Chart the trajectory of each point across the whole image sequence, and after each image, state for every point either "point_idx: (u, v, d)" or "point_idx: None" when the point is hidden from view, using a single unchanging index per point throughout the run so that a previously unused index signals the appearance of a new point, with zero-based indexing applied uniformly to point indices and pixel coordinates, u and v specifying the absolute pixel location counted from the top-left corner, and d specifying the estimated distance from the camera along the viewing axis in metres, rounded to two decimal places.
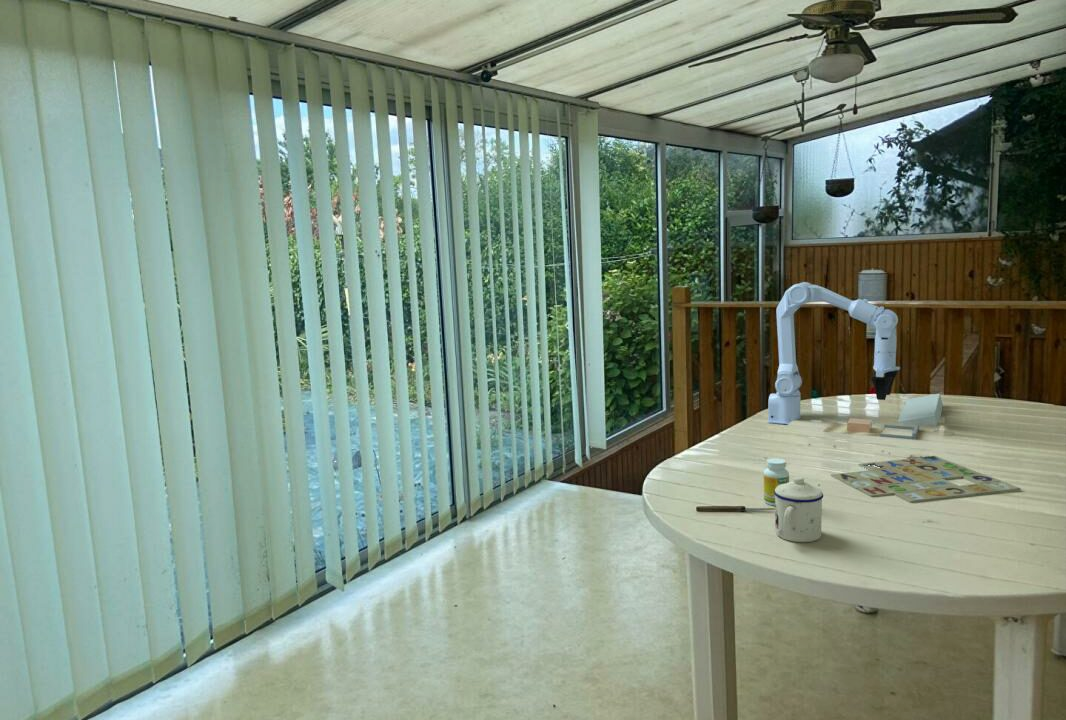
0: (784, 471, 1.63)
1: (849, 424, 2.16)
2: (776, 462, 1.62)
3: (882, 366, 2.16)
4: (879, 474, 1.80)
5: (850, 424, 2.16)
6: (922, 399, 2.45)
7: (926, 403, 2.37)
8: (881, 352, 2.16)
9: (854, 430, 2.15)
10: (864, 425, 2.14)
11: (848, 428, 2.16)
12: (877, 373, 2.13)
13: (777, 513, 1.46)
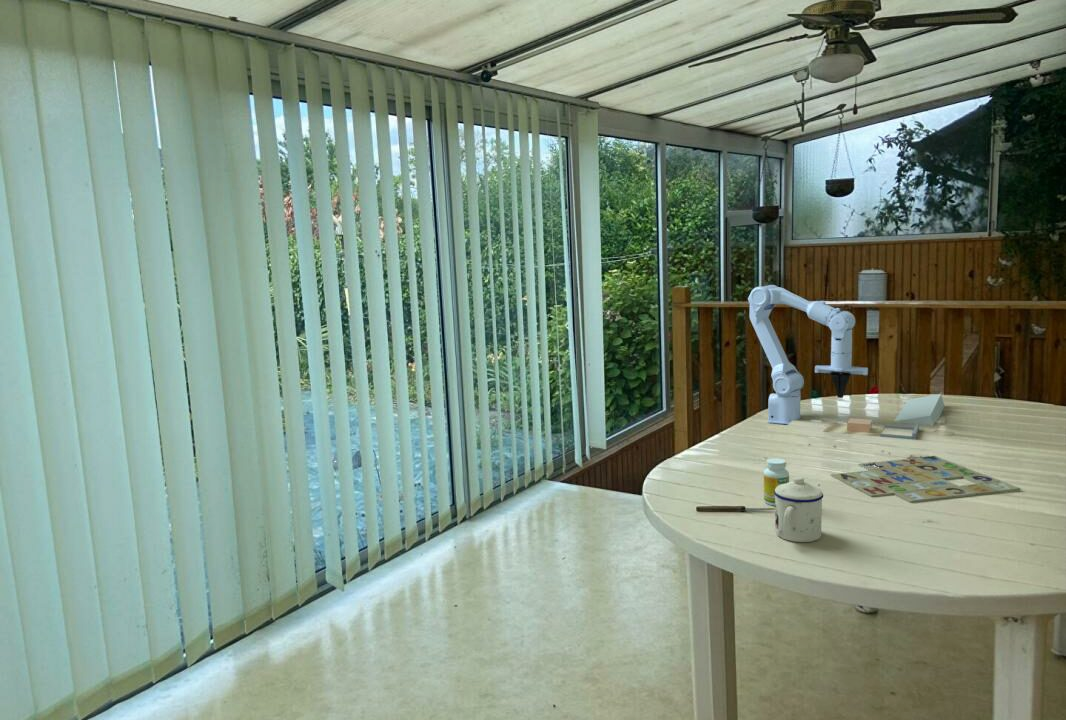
0: (784, 471, 1.63)
1: (849, 424, 2.16)
2: (776, 462, 1.62)
3: (831, 365, 2.23)
4: (879, 474, 1.80)
5: (850, 424, 2.16)
6: (923, 399, 2.45)
7: (926, 403, 2.37)
8: None
9: (854, 430, 2.15)
10: (864, 425, 2.14)
11: (848, 428, 2.16)
12: None
13: (777, 513, 1.46)
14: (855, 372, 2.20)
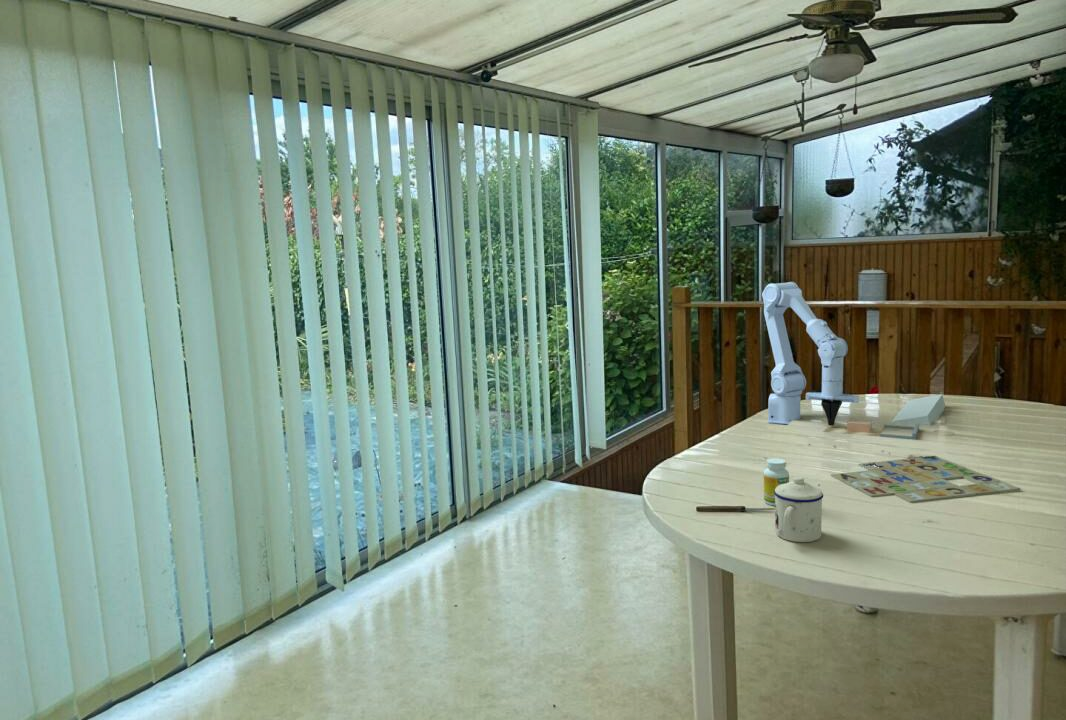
0: (784, 471, 1.63)
1: (849, 424, 2.16)
2: (776, 462, 1.62)
3: None
4: (879, 474, 1.80)
5: (850, 424, 2.16)
6: (923, 400, 2.45)
7: (925, 403, 2.37)
8: None
9: (854, 430, 2.15)
10: (864, 425, 2.14)
11: (848, 428, 2.16)
12: None
13: (777, 513, 1.46)
14: (846, 400, 2.18)
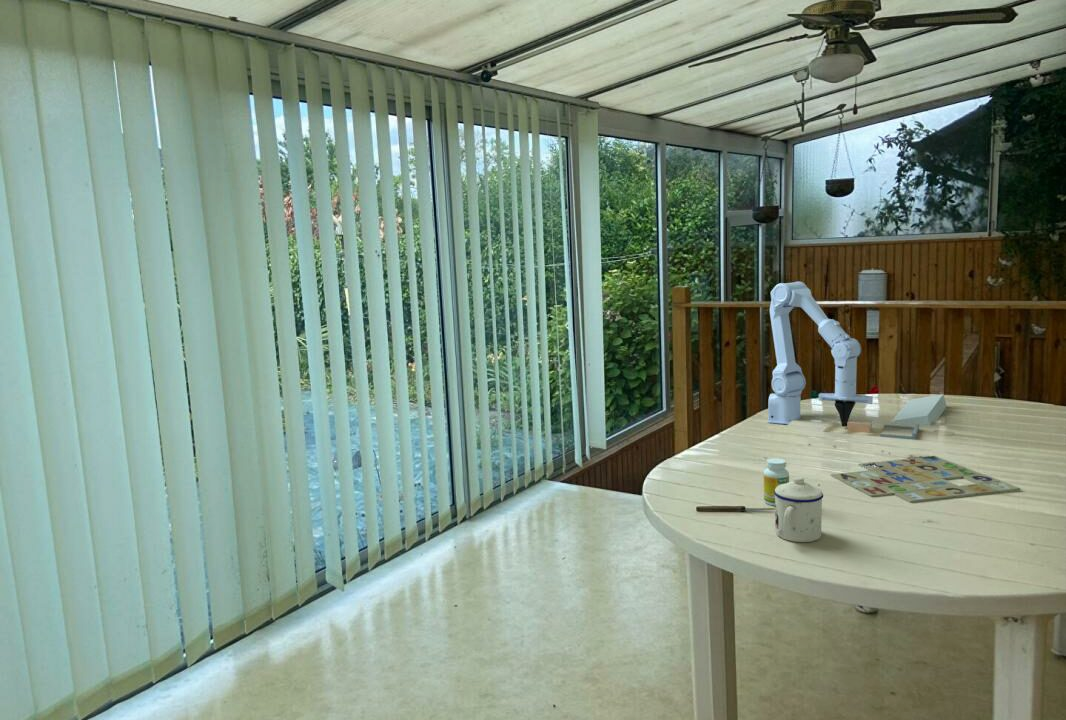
0: (784, 471, 1.63)
1: (849, 424, 2.16)
2: (776, 462, 1.62)
3: (835, 393, 2.19)
4: (879, 474, 1.80)
5: (850, 424, 2.16)
6: (924, 399, 2.44)
7: (926, 403, 2.37)
8: None
9: (854, 430, 2.15)
10: (864, 425, 2.14)
11: (848, 428, 2.16)
12: None
13: (777, 513, 1.46)
14: (860, 401, 2.16)
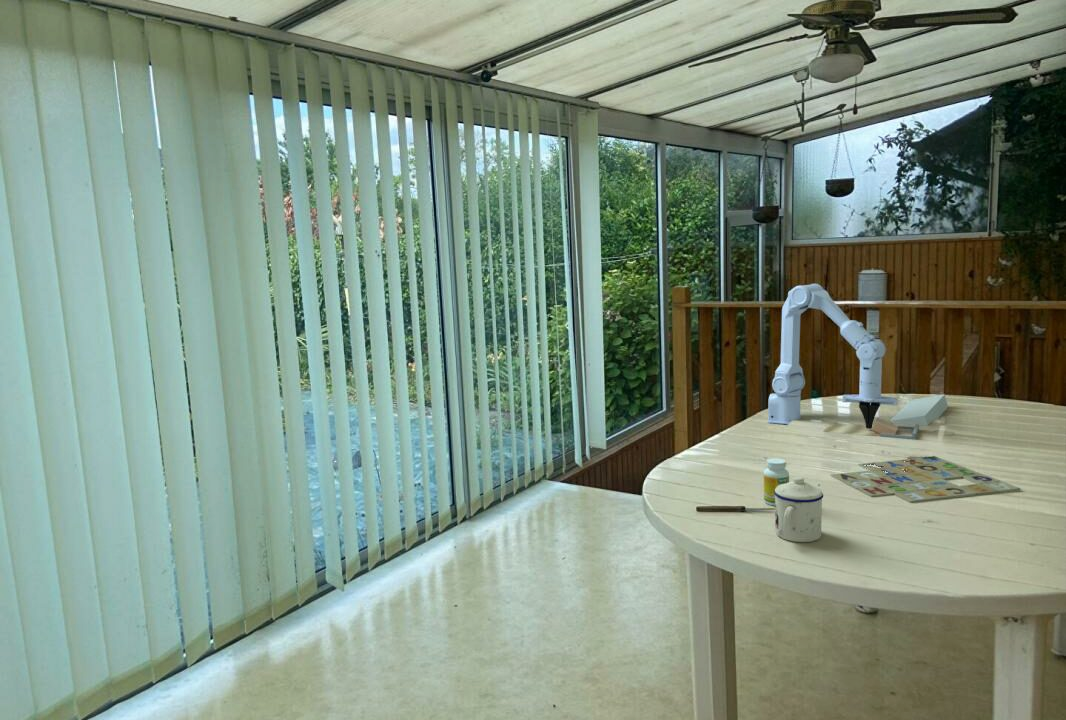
0: (784, 471, 1.63)
1: (876, 424, 2.12)
2: (776, 462, 1.62)
3: (859, 394, 2.16)
4: (879, 474, 1.80)
5: (877, 424, 2.12)
6: (925, 400, 2.44)
7: (926, 403, 2.37)
8: None
9: (879, 431, 2.12)
10: (891, 430, 2.10)
11: (874, 428, 2.12)
12: None
13: (777, 513, 1.46)
14: (885, 402, 2.12)
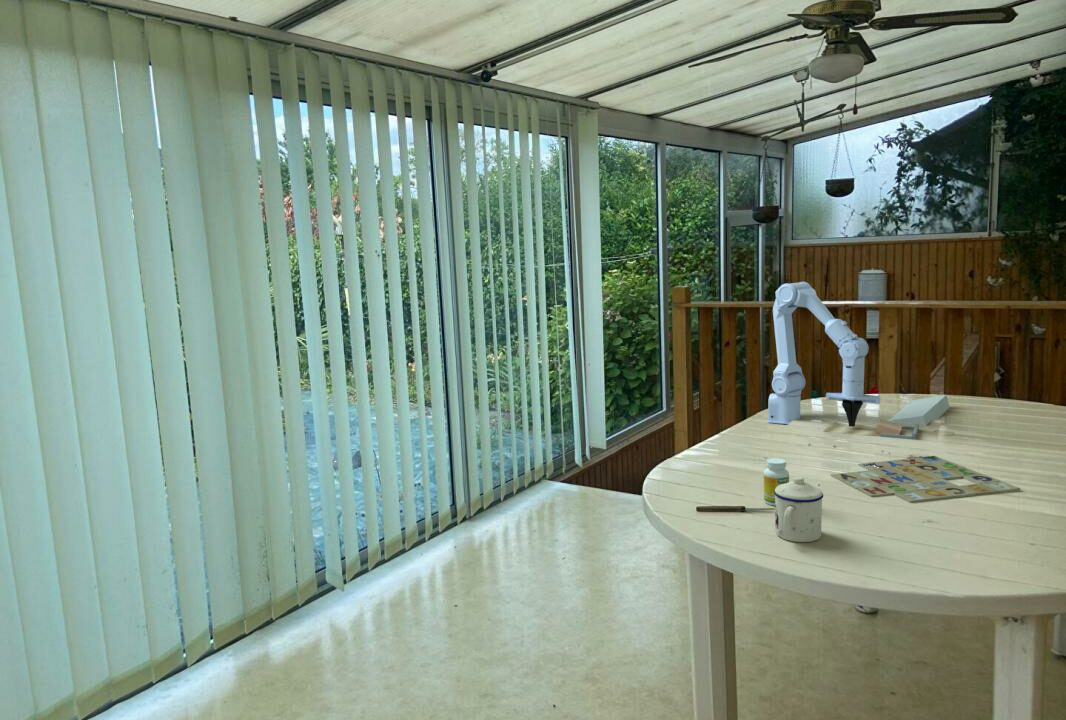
0: (784, 471, 1.63)
1: (880, 426, 2.12)
2: (776, 462, 1.62)
3: None
4: (879, 474, 1.80)
5: (881, 426, 2.12)
6: (926, 400, 2.44)
7: (926, 404, 2.37)
8: None
9: (883, 433, 2.11)
10: (895, 430, 2.10)
11: (877, 430, 2.12)
12: None
13: (777, 513, 1.46)
14: (867, 400, 2.15)
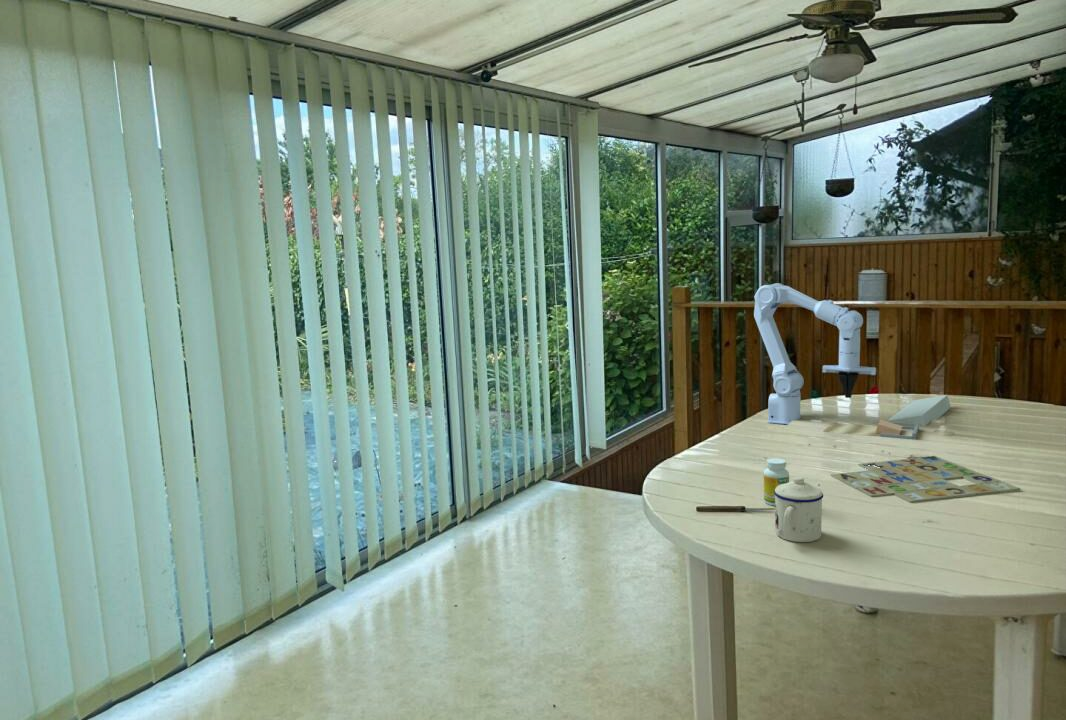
0: (784, 471, 1.63)
1: (880, 426, 2.12)
2: (776, 462, 1.62)
3: None
4: (879, 474, 1.80)
5: (881, 426, 2.12)
6: (927, 400, 2.43)
7: (926, 404, 2.36)
8: None
9: (883, 433, 2.11)
10: (895, 430, 2.10)
11: (877, 430, 2.12)
12: None
13: (777, 513, 1.46)
14: (863, 372, 2.19)
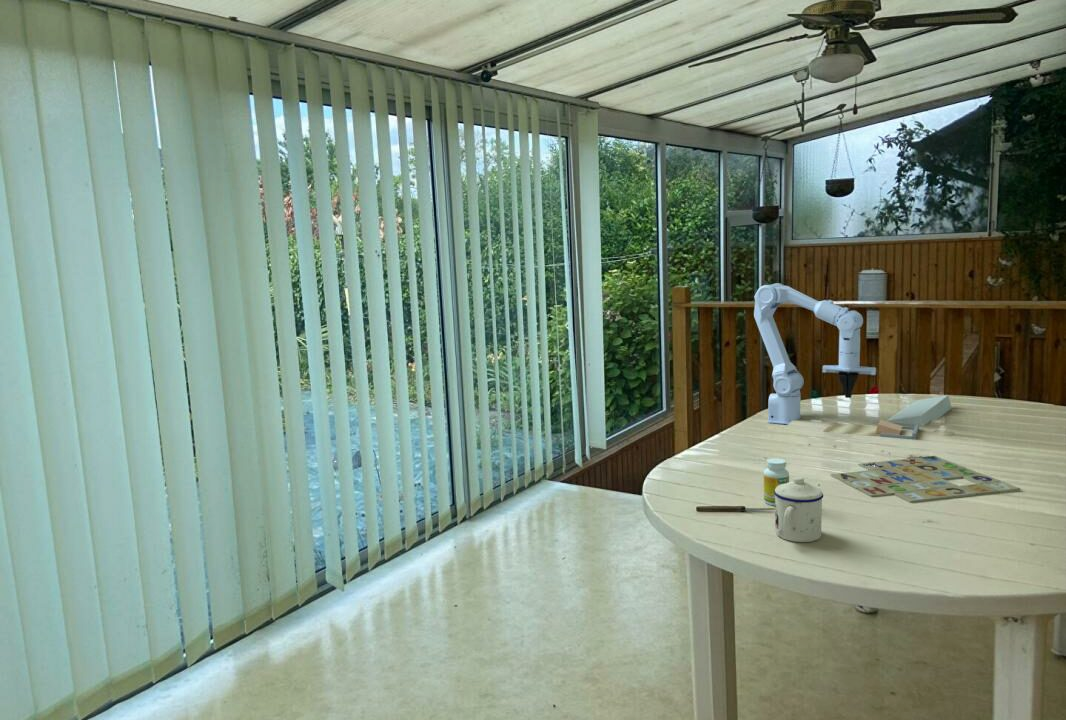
0: (784, 471, 1.63)
1: (880, 426, 2.12)
2: (776, 462, 1.62)
3: None
4: (879, 474, 1.80)
5: (881, 426, 2.12)
6: (928, 400, 2.43)
7: (927, 404, 2.36)
8: None
9: (883, 433, 2.11)
10: (895, 430, 2.10)
11: (877, 430, 2.12)
12: None
13: (777, 513, 1.46)
14: (863, 372, 2.19)
